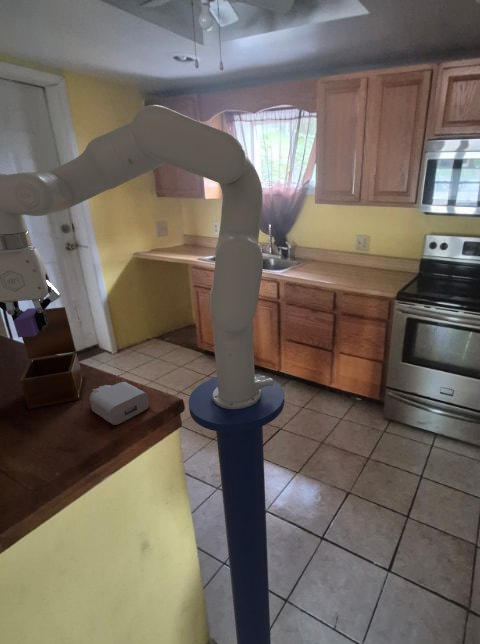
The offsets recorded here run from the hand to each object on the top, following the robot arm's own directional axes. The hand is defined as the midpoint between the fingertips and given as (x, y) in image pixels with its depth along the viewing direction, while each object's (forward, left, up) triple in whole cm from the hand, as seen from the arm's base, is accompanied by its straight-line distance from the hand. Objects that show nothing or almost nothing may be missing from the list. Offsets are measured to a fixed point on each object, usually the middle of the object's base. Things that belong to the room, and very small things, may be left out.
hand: (33, 328), depth 79 cm
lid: (+1, -15, -7) cm, 17 cm away
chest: (+1, -10, -21) cm, 23 cm away
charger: (-12, +3, -22) cm, 25 cm away
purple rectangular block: (0, 0, 0) cm, 0 cm away
